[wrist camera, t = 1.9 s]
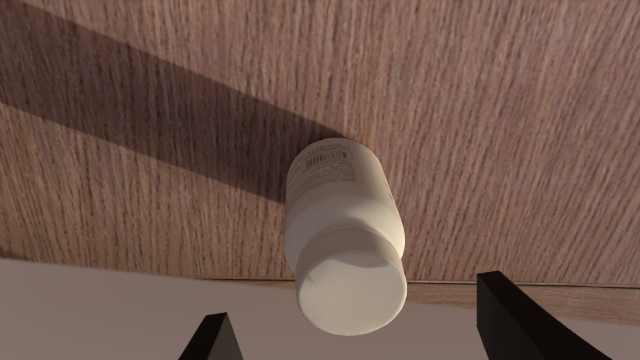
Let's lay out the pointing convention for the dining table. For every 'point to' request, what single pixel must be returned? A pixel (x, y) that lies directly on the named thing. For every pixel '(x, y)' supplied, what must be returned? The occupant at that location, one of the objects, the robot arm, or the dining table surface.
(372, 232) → the pill bottle
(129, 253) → the dining table surface
